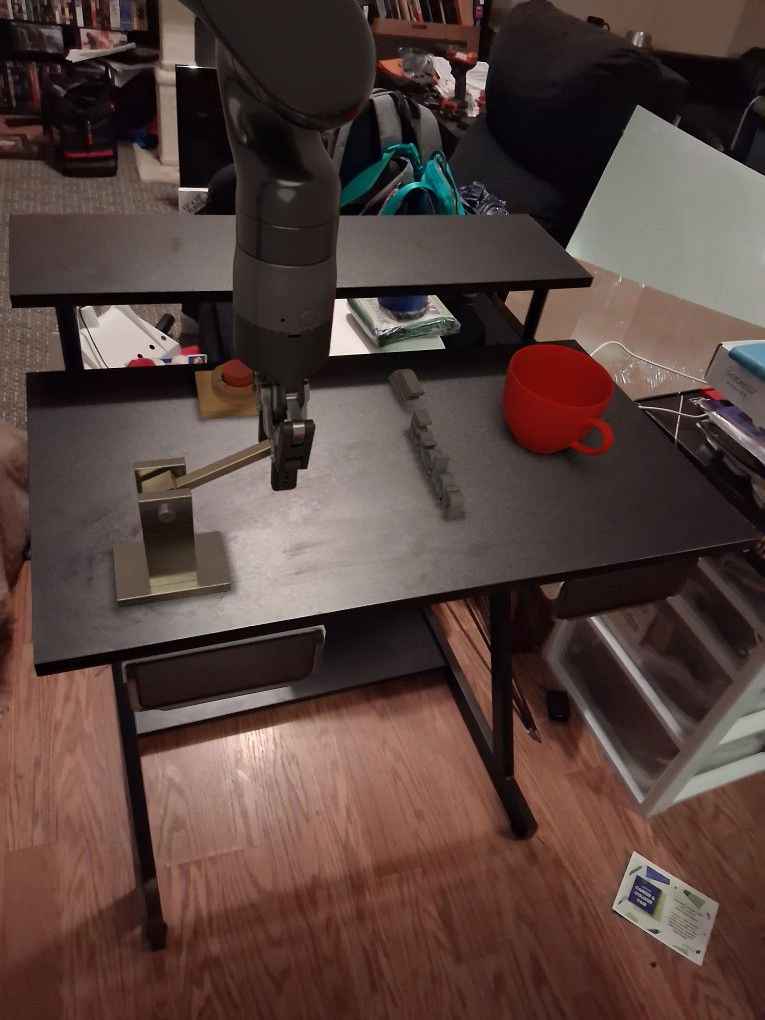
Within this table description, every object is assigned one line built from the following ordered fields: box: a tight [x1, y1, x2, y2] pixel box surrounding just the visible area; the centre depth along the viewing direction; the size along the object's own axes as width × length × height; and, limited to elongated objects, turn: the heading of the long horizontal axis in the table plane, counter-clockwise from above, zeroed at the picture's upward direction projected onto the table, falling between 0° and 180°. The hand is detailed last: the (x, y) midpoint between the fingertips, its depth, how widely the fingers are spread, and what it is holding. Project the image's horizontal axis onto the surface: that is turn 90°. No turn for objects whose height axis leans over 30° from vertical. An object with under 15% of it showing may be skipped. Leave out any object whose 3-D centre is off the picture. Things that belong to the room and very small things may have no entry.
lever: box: [141, 420, 280, 493], centre depth 65 cm, size 13×5×2 cm, turn 108°
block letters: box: [387, 368, 465, 520], centre depth 89 cm, size 25×2×6 cm, turn 16°
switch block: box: [194, 363, 259, 419], centre depth 92 cm, size 10×8×3 cm
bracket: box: [112, 456, 232, 609], centre depth 68 cm, size 10×7×13 cm, turn 108°
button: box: [223, 359, 252, 387], centre depth 91 cm, size 4×4×2 cm
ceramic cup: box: [502, 343, 615, 456], centre depth 91 cm, size 13×17×10 cm
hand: (276, 465), depth 67 cm, fingers closed on lever, 5 cm apart
